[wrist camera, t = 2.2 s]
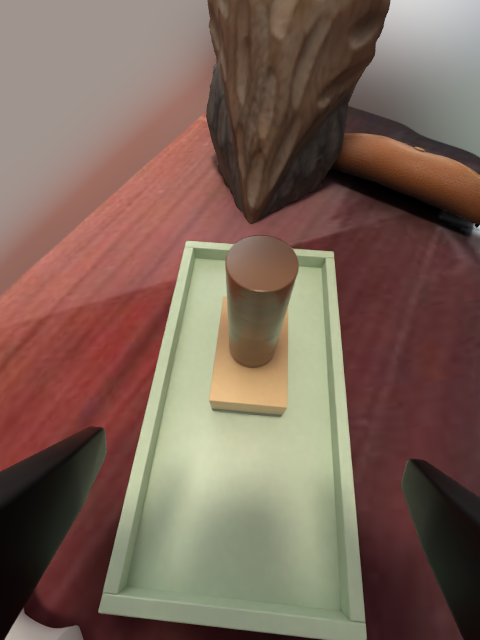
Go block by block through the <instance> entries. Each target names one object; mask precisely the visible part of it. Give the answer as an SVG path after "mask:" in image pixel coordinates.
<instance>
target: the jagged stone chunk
mask: <svg viewBox="0 0 480 640" xmlns="http://www.w3.org/2000/svg"><path fill="white" fill-rule="evenodd" d="M389 6H390V0H208V7H209V14H210V22H209V28H210V34H211V38H212V43H213V47H214V52H215V54H216V59H217V61H216V64H215V66H214V70H213V78H212V82H211V85H210V94H209V100H208V104H207V115H206V117H207V122H208V126H209V130H210V135H211V139H212V142H213V145H214V149H215V152H216V155H217V159H218V170H219V172H220V173H221V175H222V176H224V177H225V184H226V186H228V187H229V188H230V190H231V193H232V194H233V195H234V197H235V204H236V206H237V207H238V208H239V209H240V210H241V211H242V212H243V213H244V215H245V218H246V219H247V220H248V222H249V223H251V224H252V223H254V222H256V221H257V220H259V219H261V218H263V217H265V216H266V215H268V214H270V213H271V212H274V211H276V210H279V209H280V208H282V207H283V206H284V205H286V204H288V203H290V202H294V201H297V200H298V199H299V198H300V197H301V196H302V195H303V194H305V193H309V192H313V191H315V190H317V189H318V188H319V187H320V186H321V184H322V183H323V178H324V176H325V175H326V174H327V172H328V171H329V170H330V168H331V167H332V165H333V164H334V162H335V161H336V160H337V159H338V157H339V155H340V153H341V150H342V143H343V138H344V131H345V125H346V119H347V109H348V102H349V100H350V98H351V96H352V93H353V91H354V88H355V86H356V84H357V82H358V80H359V79H360V77H361V75H362V73H363V72H364V70H365V68H366V67H367V66H368V65H369V64H370V62H371V61H372V59H373V57H374V56H375V45H376V41H377V39H378V38H379V36H380V34H381V32H382V29H383V26H384V21H385V18H386V15H387V13H388V10H389Z"/></svg>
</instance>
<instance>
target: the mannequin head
mask: <svg viewBox="0 0 480 640" xmlns="http://www.w3.org/2000/svg"><path fill="white" fill-rule="evenodd" d="M5 640H84V639H83V636H82V633H81V631H80V628H79V626H77V625H75V626H71V627H66V628H51V627H47V626H44V625H42V624H39V623H38V622H36V621H34V620H32V619H31V618H29V617H28V616H27V615H26V614H25V612H24V607H23V609H22V611H21V613H20V614H19V616H18V618H17V619H16V621H15V623H14V624H13V626H12V628H11V630H10V631H9V633H8V635H7V636H6V638H5Z"/></svg>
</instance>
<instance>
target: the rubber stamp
mask: <svg viewBox="0 0 480 640" xmlns="http://www.w3.org/2000/svg"><path fill="white" fill-rule="evenodd" d="M298 270H299V262H298V258H297V255H296V253H295V252H294V250H293V249H292V248H291V247H290V246H289V245H288V244H287V243H285V242H284V241H282V240H280V239H278V238H275V237H271V236H266V235H255V236H250V237H246V238H244V239H241V240H240V241H238V242H237V243H235V244H234V245H233V246H232V247H231V248H230V250H229V251H228V253H227V256H226V259H225V271H226V291H227V297H225V296H224V297H223V302H222V309H221V317H220V324H219V331H218V338H217V345H216V353H215V360H214V367H213V374H212V381H211V389H210V396H209V402H210V405H211V408H212V410H213V411H221V412H232V413H243V414H253V415H264V416H275V417H281V416H282V415H283V413H284V412H285V410H286V409H287V400H288V305H289V301H290V298H291V294H292V291H293V288H294V284H295V281H296V277H297V274H298Z"/></svg>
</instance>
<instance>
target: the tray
mask: <svg viewBox="0 0 480 640" xmlns="http://www.w3.org/2000/svg"><path fill="white" fill-rule="evenodd" d="M233 245H234V244H223V243H210V242H197V241H186V244H185V248H184V253H183V257H182V261H181V265H180V269H179V274H178V278H177V282H176V286H175V290H174V295H173V299H172V303H171V307H170V311H169V316H168V320H167V324H166V328H165V332H164V337H163V341H162V345H161V349H160V353H159V358H158V362H157V366H156V370H155V374H154V379H153V383H152V387H151V391H150V395H149V400H148V404H147V408H146V412H145V416H144V421H143V425H142V429H141V433H140V437H139V442H138V446H137V450H136V454H135V458H134V463H133V467H132V471H131V475H130V479H129V484H128V488H127V492H126V496H125V500H124V505H123V509H122V513H121V517H120V521H119V526H118V530H117V534H116V538H115V542H114V547H113V551H112V555H111V559H110V563H109V568H108V572H107V576H106V580H105V584H104V589H103V594H102V598H101V602H100V606H99V611H98V613H102V614H110V615H119V616H127V617H136V618H144V619H153V620H161V621H170V622H178V623H187V624H195V625H204V626H212V627H221V628H229V629H238V630H246V631H255V632H263V633H272V634H280V635H289V636H297V637H306V638H314V639H323V640H367V634H366V624H365V623H364V622H365V610H364V599H363V587H362V576H361V564H360V552H359V541H358V529H357V518H356V506H355V494H354V483H353V471H352V460H351V448H350V437H349V425H348V413H347V402H346V390H345V379H344V367H343V355H342V344H341V332H340V321H339V309H338V298H337V286H336V274H335V263H334V252H331V251H318V250H304V249H293V250H294V252H295V253H296V255H297V258H298V262H299V270H298V274H297V277H296V281H295V284H294V288H293V291H292V294H291V298H290V301H289V305H288V400H287V409H286V410H285V412H284V413H283V415H282V416H281V417H275V416H264V415H253V414H243V413H232V412H221V411H213V410H212V408H211V405H210V402H209V396H210V389H211V381H212V374H213V367H214V360H215V353H216V345H217V338H218V331H219V324H220V317H221V309H222V302H223V297H224V296H225V297H227V291H226V271H225V259H226V256H227V253H228V251H229V250H230V248H231V247H232V246H233Z"/></svg>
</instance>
